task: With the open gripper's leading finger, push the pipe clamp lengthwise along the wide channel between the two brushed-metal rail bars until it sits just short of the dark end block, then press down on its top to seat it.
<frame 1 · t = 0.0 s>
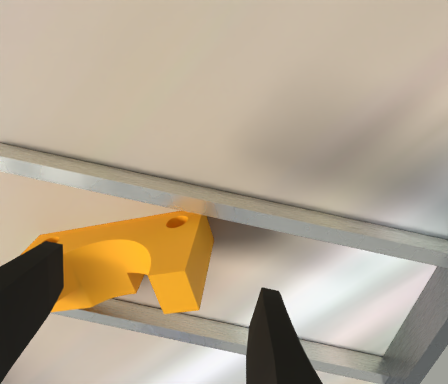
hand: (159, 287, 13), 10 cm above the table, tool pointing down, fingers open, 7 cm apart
pipe clamp: (131, 244, 26), resting in rail
rail: (256, 276, 25), on the table
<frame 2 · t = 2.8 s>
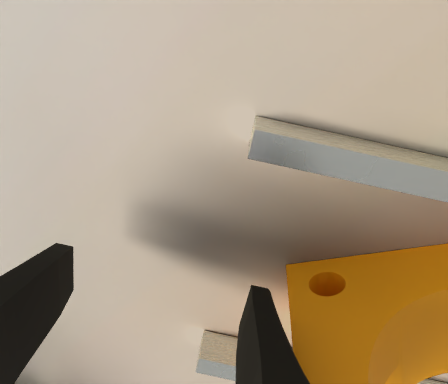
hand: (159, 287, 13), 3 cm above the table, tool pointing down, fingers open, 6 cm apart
pipe clamp: (433, 283, 16), resting in rail, touching gripper
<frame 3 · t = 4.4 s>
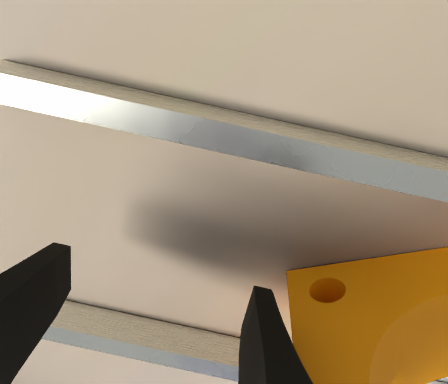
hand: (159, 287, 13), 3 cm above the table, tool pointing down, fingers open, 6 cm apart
pipe clamp: (434, 286, 16), resting in rail, touching gripper
rail: (425, 294, 16), on the table
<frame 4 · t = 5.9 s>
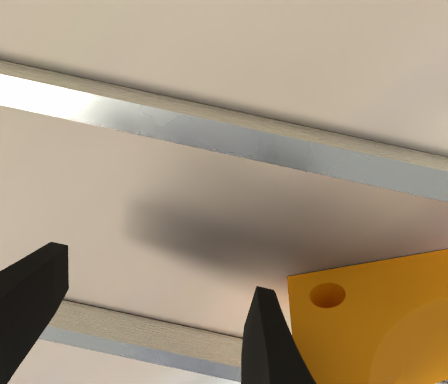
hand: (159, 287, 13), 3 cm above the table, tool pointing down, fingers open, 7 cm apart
pipe clamp: (435, 288, 16), resting in rail, touching gripper
rail: (325, 272, 16), on the table
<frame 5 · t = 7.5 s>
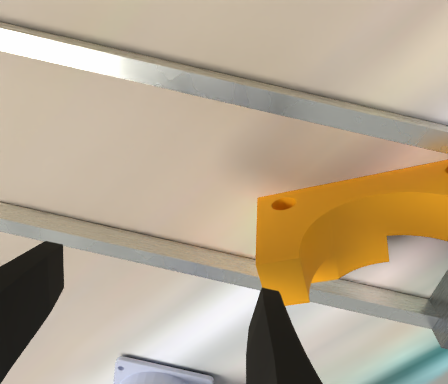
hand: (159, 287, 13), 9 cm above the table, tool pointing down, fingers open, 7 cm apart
pipe clamp: (364, 206, 22), resting in rail
rail: (287, 196, 21), on the table
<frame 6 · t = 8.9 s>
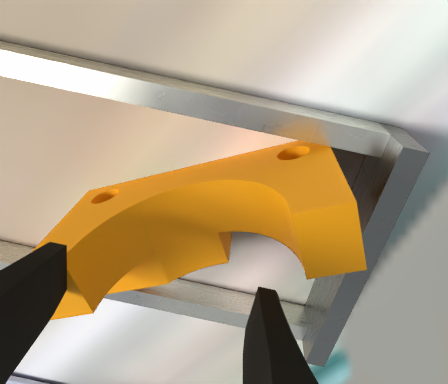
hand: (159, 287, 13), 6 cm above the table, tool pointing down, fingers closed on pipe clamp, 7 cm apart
pipe clamp: (212, 199, 19), resting in rail, touching gripper
rail: (122, 189, 18), on the table
when the fingers open (6 cm above the table, at t = 9.4 s): pipe clamp stays where it is, resting in rail.
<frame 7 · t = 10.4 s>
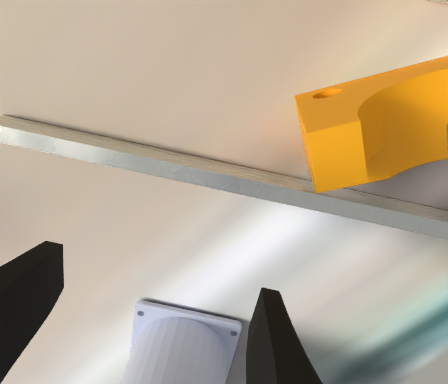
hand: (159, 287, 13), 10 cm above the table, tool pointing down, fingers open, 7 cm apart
pipe clamp: (415, 104, 19), resting in rail
rail: (331, 95, 19), on the table
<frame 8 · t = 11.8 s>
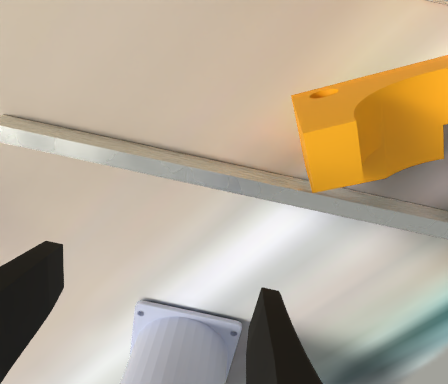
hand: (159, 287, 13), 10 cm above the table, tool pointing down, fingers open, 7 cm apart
pipe clamp: (411, 104, 19), resting in rail
rail: (331, 95, 19), on the table
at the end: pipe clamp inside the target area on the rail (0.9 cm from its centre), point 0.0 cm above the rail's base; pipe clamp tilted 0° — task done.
